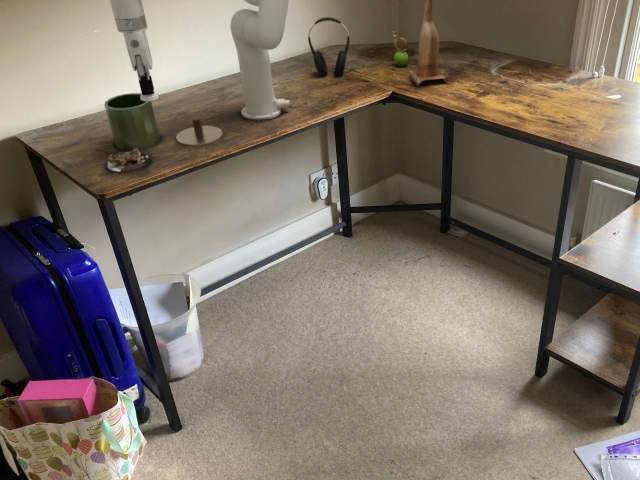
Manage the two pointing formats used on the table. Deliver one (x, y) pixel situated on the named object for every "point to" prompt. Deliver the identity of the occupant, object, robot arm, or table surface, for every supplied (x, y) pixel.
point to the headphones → (319, 58)
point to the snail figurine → (400, 51)
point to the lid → (199, 134)
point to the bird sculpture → (428, 50)
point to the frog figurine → (124, 159)
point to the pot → (132, 121)
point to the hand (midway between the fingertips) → (148, 92)
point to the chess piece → (149, 96)
